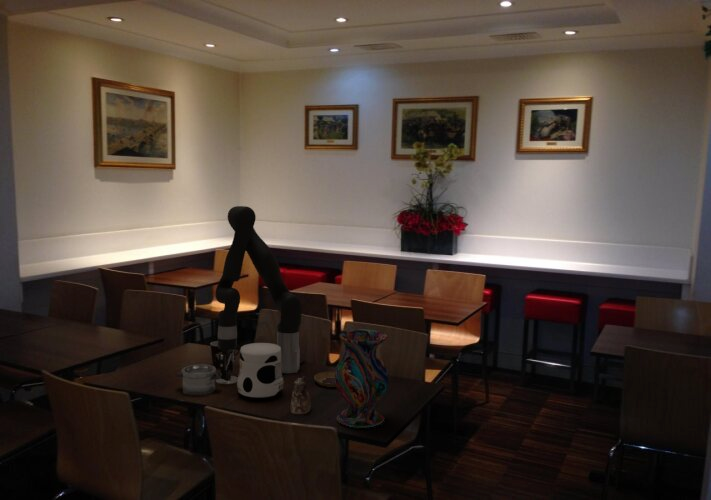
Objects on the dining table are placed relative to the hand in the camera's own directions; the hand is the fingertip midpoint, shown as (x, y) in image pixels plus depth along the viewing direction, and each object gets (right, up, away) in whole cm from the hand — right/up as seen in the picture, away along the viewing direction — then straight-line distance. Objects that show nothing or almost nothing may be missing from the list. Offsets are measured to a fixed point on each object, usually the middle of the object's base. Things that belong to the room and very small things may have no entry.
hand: (227, 375), depth 249 cm
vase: (+53, -8, -36) cm, 65 cm away
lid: (0, -2, 0) cm, 2 cm away
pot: (-8, -3, -12) cm, 15 cm away
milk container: (+16, -4, -14) cm, 22 cm away
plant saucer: (+42, -4, +1) cm, 42 cm away
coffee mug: (-5, 0, +18) cm, 18 cm away
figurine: (+32, -7, -29) cm, 44 cm away
